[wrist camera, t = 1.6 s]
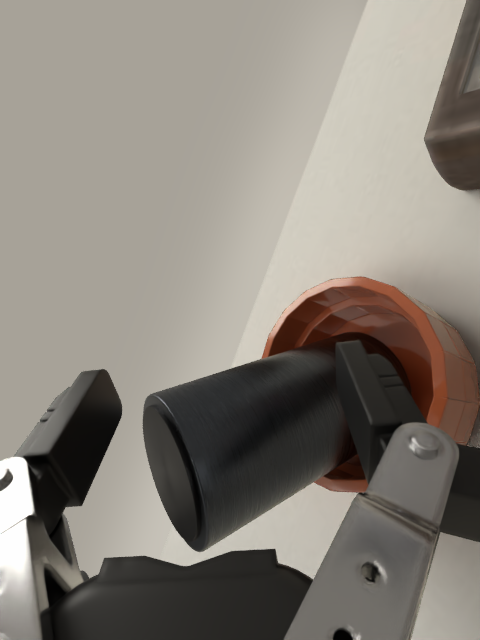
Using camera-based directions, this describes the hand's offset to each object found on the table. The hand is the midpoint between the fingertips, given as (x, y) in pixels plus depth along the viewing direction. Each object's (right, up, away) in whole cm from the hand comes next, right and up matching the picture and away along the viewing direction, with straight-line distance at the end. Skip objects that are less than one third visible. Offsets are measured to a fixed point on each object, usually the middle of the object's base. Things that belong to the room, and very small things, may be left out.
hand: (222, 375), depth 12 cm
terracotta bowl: (+8, -2, +7) cm, 11 cm away
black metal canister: (+7, -1, +6) cm, 10 cm away
